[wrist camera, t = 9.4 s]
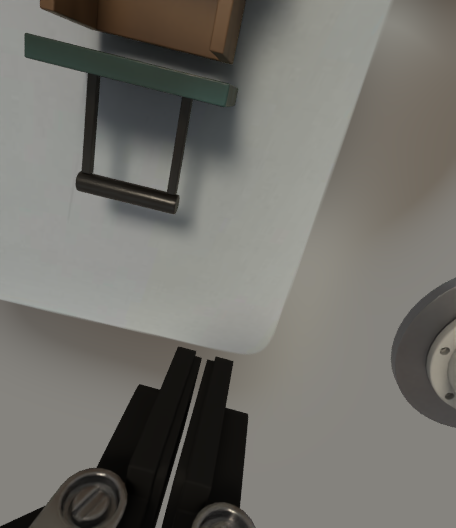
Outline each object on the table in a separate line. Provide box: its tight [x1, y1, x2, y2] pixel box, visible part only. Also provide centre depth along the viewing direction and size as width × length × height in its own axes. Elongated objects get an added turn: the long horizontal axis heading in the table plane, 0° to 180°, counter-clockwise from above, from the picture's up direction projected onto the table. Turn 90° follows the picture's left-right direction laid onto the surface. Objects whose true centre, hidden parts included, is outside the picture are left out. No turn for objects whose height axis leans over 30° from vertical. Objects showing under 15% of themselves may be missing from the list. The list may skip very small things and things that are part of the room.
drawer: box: [25, 0, 246, 214], centre depth 22 cm, size 21×11×7 cm, turn 167°
